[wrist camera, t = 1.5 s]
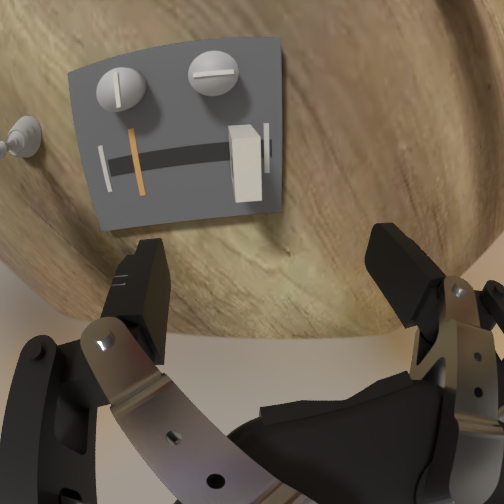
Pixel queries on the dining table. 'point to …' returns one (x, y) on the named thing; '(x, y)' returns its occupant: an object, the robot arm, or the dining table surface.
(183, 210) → the console
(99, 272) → the dining table surface
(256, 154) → the block
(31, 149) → the chalice
